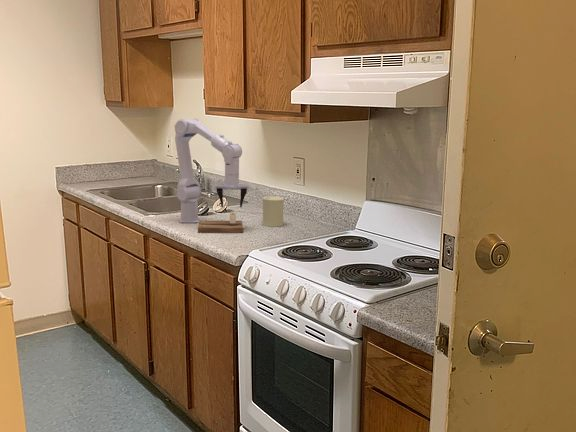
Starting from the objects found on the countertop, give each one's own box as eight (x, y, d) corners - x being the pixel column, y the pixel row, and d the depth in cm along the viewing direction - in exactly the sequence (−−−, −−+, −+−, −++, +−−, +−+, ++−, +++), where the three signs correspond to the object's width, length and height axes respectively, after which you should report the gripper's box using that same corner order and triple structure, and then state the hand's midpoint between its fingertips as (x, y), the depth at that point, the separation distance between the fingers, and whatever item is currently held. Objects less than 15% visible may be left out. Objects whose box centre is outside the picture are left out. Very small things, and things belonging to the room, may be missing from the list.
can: (259, 222, 261) (259, 195, 258) (279, 221, 264) (279, 195, 262) (266, 227, 252) (266, 199, 250) (286, 226, 256) (287, 198, 253)
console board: (199, 225, 253) (199, 220, 252) (241, 225, 255) (241, 220, 254) (197, 232, 239) (197, 227, 239) (242, 232, 241) (242, 227, 241)
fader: (229, 222, 249) (229, 212, 248) (235, 222, 249) (235, 212, 249) (229, 224, 244) (229, 215, 244) (235, 224, 245) (235, 215, 244)
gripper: (213, 175, 238) (213, 208, 241) (250, 175, 240) (249, 208, 243) (214, 172, 245) (213, 205, 248) (249, 173, 247) (248, 205, 249)
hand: (231, 206), depth 246 cm, fingers open, 7 cm apart
